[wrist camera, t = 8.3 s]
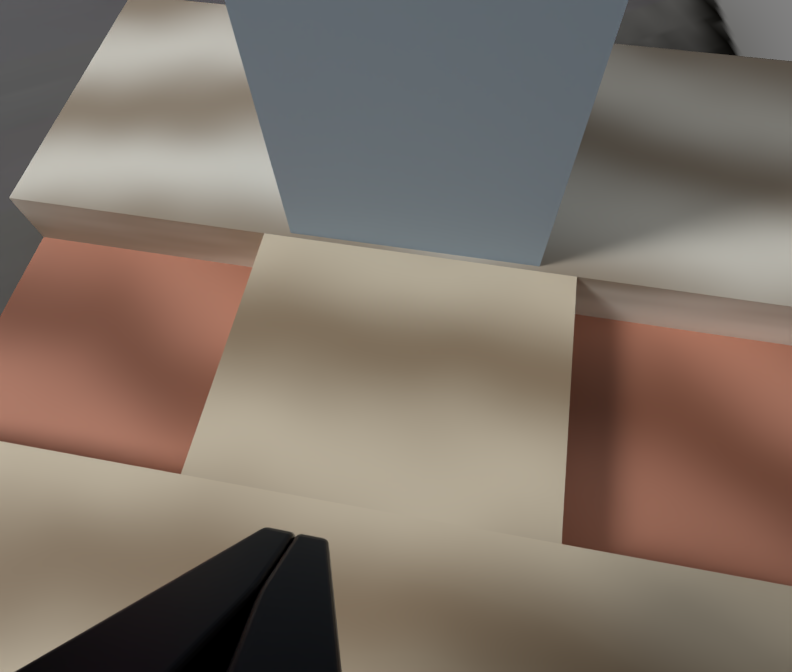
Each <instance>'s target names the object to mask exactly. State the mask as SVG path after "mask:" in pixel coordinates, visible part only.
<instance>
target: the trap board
mask: <svg viewBox="0 0 792 672" xmlns="http://www.w3.org/2000/svg"><path fill="white" fill-rule="evenodd" d="M9 198H10V199H11V200H12V202H13V203H14V204H15V205H16V206H17V207H18V208H19V210H20V211H21V212H22V213H23V214H24V215H25V216H26V218H27V219H28V220H29V221H30V222H31V223H32V224H33V225H34V227H35V228H36V229H37V230H38V231H39V232H40V233H41V235H42V236H43V239H42V241H41V243H40V245H39V247H38V248H37V250H36V252H35V254H34V256H33V257H32V259H31V261H30V263H29V265H28V267H27V268H26V270H25V272H24V274H23V276H22V278H21V279H20V281H19V283H18V285H17V287H16V289H15V290H14V292H13V294H12V296H11V298H10V299H9V301H8V303H7V305H6V307H5V309H4V310H3V312H2V314H1V316H0V672H15V671H17V670H18V669H20V668H22V667H24V666H25V665H27V664H29V663H30V662H32V661H34V660H36V659H37V658H39V657H41V656H43V655H44V654H46V653H48V652H49V651H51V650H53V649H55V648H56V647H58V646H60V645H62V644H63V643H65V642H67V641H68V640H70V639H72V638H74V637H75V636H77V635H79V634H80V633H82V632H84V631H86V630H87V629H89V628H91V627H93V626H94V625H96V624H98V623H99V622H101V621H103V620H105V619H106V618H108V617H110V616H112V615H113V614H115V613H117V612H118V611H120V610H122V609H124V608H125V607H127V606H129V605H131V604H132V603H134V602H136V601H137V600H139V599H141V598H143V597H144V596H146V595H148V594H149V593H151V592H153V591H155V590H156V589H158V588H160V587H162V586H163V585H165V584H167V583H168V582H170V581H172V580H174V579H175V578H177V577H179V576H181V575H182V574H184V573H186V572H187V571H189V570H191V569H193V568H194V567H196V566H198V565H200V564H201V563H203V562H205V561H206V560H208V559H210V558H212V557H213V556H215V555H217V554H218V553H220V552H222V551H224V550H225V549H227V548H229V547H231V546H232V545H234V544H236V543H237V542H239V541H241V540H243V539H244V538H246V537H248V536H250V535H251V534H253V533H255V532H256V531H258V530H260V529H262V528H265V527H270V528H275V529H280V530H285V531H290V532H293V533H294V534H295V536H297V535H299V534H305V535H311V536H316V537H321V538H325V539H326V540H328V542H329V550H330V560H331V570H332V580H333V590H334V599H335V609H336V619H337V629H338V639H339V648H340V658H341V668H342V672H792V61H782V60H773V59H763V58H753V57H743V56H733V55H723V54H713V53H703V52H693V51H683V50H673V49H663V48H653V47H643V46H633V45H623V44H613V47H612V50H611V53H610V56H609V59H608V62H607V65H606V68H605V71H604V74H603V77H602V80H601V83H600V86H599V89H598V92H597V95H596V98H595V101H594V104H593V107H592V110H591V113H590V116H589V119H588V122H587V125H586V128H585V131H584V134H583V137H582V140H581V143H580V146H579V150H578V153H577V156H576V159H575V162H574V165H573V168H572V171H571V174H570V177H569V180H568V183H567V186H566V189H565V192H564V195H563V198H562V201H561V204H560V207H559V210H558V213H557V216H556V219H555V222H554V225H553V228H552V231H551V234H550V237H549V240H548V243H547V246H546V249H545V252H544V255H543V258H542V261H541V264H540V266H533V265H525V264H518V263H511V262H503V261H496V260H488V259H481V258H473V257H466V256H459V255H451V254H444V253H436V252H429V251H421V250H414V249H407V248H399V247H392V246H384V245H377V244H370V243H362V242H355V241H347V240H340V239H332V238H325V237H318V236H310V235H303V234H295V233H291V232H290V228H289V225H288V221H287V218H286V214H285V211H284V207H283V204H282V200H281V197H280V193H279V190H278V186H277V183H276V179H275V176H274V172H273V169H272V165H271V162H270V158H269V155H268V151H267V148H266V144H265V141H264V137H263V134H262V130H261V127H260V123H259V120H258V116H257V113H256V109H255V106H254V102H253V99H252V95H251V92H250V88H249V85H248V81H247V78H246V74H245V71H244V67H243V64H242V60H241V57H240V53H239V50H238V46H237V43H236V39H235V36H234V32H233V29H232V25H231V22H230V18H229V15H228V11H227V8H226V5H223V4H213V3H203V2H193V1H183V0H128V1H127V3H126V4H125V6H124V8H123V9H122V11H121V13H120V14H119V16H118V18H117V19H116V21H115V23H114V24H113V26H112V28H111V29H110V31H109V33H108V34H107V36H106V38H105V39H104V41H103V43H102V44H101V46H100V48H99V49H98V51H97V53H96V54H95V56H94V58H93V59H92V61H91V63H90V64H89V66H88V67H87V69H86V71H85V72H84V74H83V76H82V77H81V79H80V81H79V82H78V84H77V86H76V87H75V89H74V91H73V92H72V94H71V96H70V97H69V99H68V101H67V102H66V104H65V106H64V107H63V109H62V111H61V112H60V114H59V116H58V117H57V119H56V121H55V122H54V124H53V126H52V127H51V129H50V131H49V132H48V134H47V136H46V137H45V139H44V141H43V142H42V144H41V146H40V147H39V149H38V151H37V152H36V154H35V156H34V157H33V159H32V161H31V162H30V164H29V166H28V167H27V169H26V171H25V172H24V174H23V176H22V177H21V179H20V181H19V182H18V184H17V186H16V187H15V189H14V191H13V192H12V194H11V196H10V197H9Z"/></svg>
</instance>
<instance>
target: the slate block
mask: <svg viewBox="0 0 792 672" xmlns="http://www.w3.org/2000/svg"><path fill="white" fill-rule="evenodd" d="M224 1H225V4H226V8H227V11H228V15H229V18H230V22H231V25H232V29H233V32H234V36H235V39H236V43H237V46H238V50H239V53H240V57H241V60H242V64H243V67H244V71H245V74H246V78H247V81H248V85H249V88H250V92H251V95H252V99H253V102H254V106H255V109H256V113H257V116H258V120H259V123H260V127H261V130H262V134H263V137H264V141H265V144H266V148H267V151H268V155H269V158H270V162H271V165H272V169H273V172H274V176H275V179H276V183H277V186H278V190H279V193H280V197H281V200H282V204H283V207H284V211H285V214H286V218H287V221H288V225H289V228H290V232H291V233H295V234H303V235H310V236H318V237H325V238H332V239H340V240H347V241H355V242H362V243H370V244H377V245H384V246H392V247H399V248H407V249H414V250H421V251H429V252H436V253H444V254H451V255H459V256H466V257H473V258H481V259H488V260H496V261H503V262H511V263H518V264H525V265H533V266H540V264H541V261H542V258H543V255H544V252H545V249H546V246H547V243H548V240H549V237H550V234H551V231H552V228H553V225H554V222H555V219H556V216H557V213H558V210H559V207H560V204H561V201H562V198H563V195H564V192H565V189H566V186H567V183H568V180H569V177H570V174H571V171H572V168H573V165H574V162H575V159H576V156H577V153H578V150H579V146H580V143H581V140H582V137H583V134H584V131H585V128H586V125H587V122H588V119H589V116H590V113H591V110H592V107H593V104H594V101H595V98H596V95H597V92H598V89H599V86H600V83H601V80H602V77H603V74H604V71H605V68H606V65H607V62H608V59H609V56H610V53H611V50H612V47H613V44H614V41H615V38H616V35H617V32H618V29H619V26H620V23H621V20H622V17H623V14H624V11H625V8H626V5H627V2H628V0H224Z"/></svg>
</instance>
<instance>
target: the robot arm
mask: <svg viewBox="0 0 792 672" xmlns="http://www.w3.org/2000/svg"><path fill="white" fill-rule="evenodd" d="M15 672H342V668H341V658H340V648H339V639H338V629H337V619H336V609H335V599H334V590H333V580H332V570H331V560H330V550H329V542H328V540H326V539H325V538H321V537H316V536H311V535H305V534H299V535H297V536H295V534H294V533H293V532H290V531H285V530H280V529H275V528H270V527H265V528H262V529H260V530H258V531H256V532H255V533H253V534H251V535H250V536H248V537H246V538H244V539H243V540H241V541H239V542H237V543H236V544H234V545H232V546H231V547H229V548H227V549H225V550H224V551H222V552H220V553H218V554H217V555H215V556H213V557H212V558H210V559H208V560H206V561H205V562H203V563H201V564H200V565H198V566H196V567H194V568H193V569H191V570H189V571H187V572H186V573H184V574H182V575H181V576H179V577H177V578H175V579H174V580H172V581H170V582H168V583H167V584H165V585H163V586H162V587H160V588H158V589H156V590H155V591H153V592H151V593H149V594H148V595H146V596H144V597H143V598H141V599H139V600H137V601H136V602H134V603H132V604H131V605H129V606H127V607H125V608H124V609H122V610H120V611H118V612H117V613H115V614H113V615H112V616H110V617H108V618H106V619H105V620H103V621H101V622H99V623H98V624H96V625H94V626H93V627H91V628H89V629H87V630H86V631H84V632H82V633H80V634H79V635H77V636H75V637H74V638H72V639H70V640H68V641H67V642H65V643H63V644H62V645H60V646H58V647H56V648H55V649H53V650H51V651H49V652H48V653H46V654H44V655H43V656H41V657H39V658H37V659H36V660H34V661H32V662H30V663H29V664H27V665H25V666H24V667H22V668H20V669H18V670H17V671H15Z"/></svg>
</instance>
